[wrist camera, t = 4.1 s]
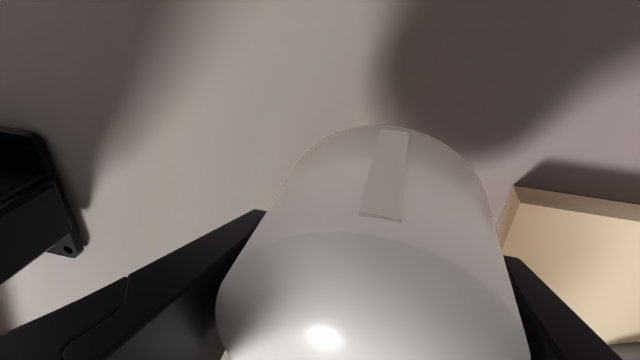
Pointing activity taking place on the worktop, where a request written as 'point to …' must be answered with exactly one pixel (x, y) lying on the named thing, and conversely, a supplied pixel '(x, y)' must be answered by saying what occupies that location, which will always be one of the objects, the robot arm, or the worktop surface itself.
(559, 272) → the beige square board
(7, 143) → the robot arm
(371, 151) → the cap
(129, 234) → the worktop surface
